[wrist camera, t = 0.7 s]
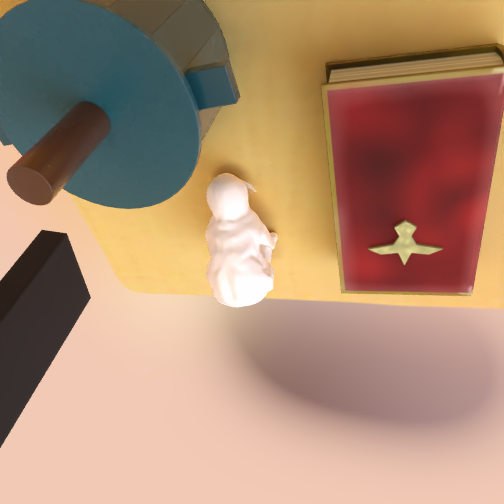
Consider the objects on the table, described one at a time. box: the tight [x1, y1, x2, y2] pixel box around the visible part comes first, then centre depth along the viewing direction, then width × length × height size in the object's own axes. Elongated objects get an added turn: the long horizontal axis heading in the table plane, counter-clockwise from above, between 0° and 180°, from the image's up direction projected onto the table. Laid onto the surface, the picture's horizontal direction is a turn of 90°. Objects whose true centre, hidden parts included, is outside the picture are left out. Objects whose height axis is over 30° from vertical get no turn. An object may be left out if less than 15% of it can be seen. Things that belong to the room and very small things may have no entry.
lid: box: [0, 0, 202, 209], centre depth 28 cm, size 15×15×9 cm
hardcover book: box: [321, 44, 504, 296], centre depth 38 cm, size 12×21×4 cm, turn 11°
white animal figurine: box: [205, 173, 278, 307], centre depth 44 cm, size 6×8×12 cm
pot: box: [0, 0, 240, 146], centre depth 34 cm, size 14×19×10 cm
